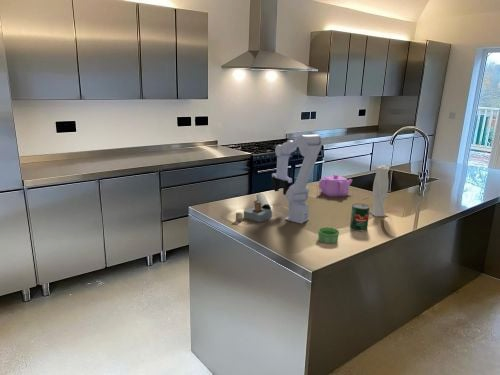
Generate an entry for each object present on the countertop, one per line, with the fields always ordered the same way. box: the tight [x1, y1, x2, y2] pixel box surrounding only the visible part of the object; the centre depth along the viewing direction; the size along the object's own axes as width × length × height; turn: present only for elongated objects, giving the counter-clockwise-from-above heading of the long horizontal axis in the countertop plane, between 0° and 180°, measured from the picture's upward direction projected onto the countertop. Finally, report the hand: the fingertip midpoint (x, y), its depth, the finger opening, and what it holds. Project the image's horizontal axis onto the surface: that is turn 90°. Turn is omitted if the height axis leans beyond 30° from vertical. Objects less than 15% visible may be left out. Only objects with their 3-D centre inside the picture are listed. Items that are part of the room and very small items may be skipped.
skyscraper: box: [369, 163, 391, 218], centre depth 191 cm, size 8×8×28 cm
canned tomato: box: [349, 202, 371, 232], centre depth 174 cm, size 8×8×11 cm
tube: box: [255, 192, 272, 210], centre depth 204 cm, size 5×5×25 cm
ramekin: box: [317, 226, 340, 245], centre depth 160 cm, size 9×9×4 cm
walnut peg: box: [254, 200, 261, 213], centre depth 185 cm, size 3×3×8 cm
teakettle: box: [318, 174, 353, 198], centre depth 231 cm, size 17×17×12 cm
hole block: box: [243, 206, 273, 223], centre depth 186 cm, size 10×10×4 cm
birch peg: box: [235, 211, 244, 223], centre depth 180 cm, size 3×3×4 cm
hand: (280, 192), depth 197 cm, fingers open, 7 cm apart
